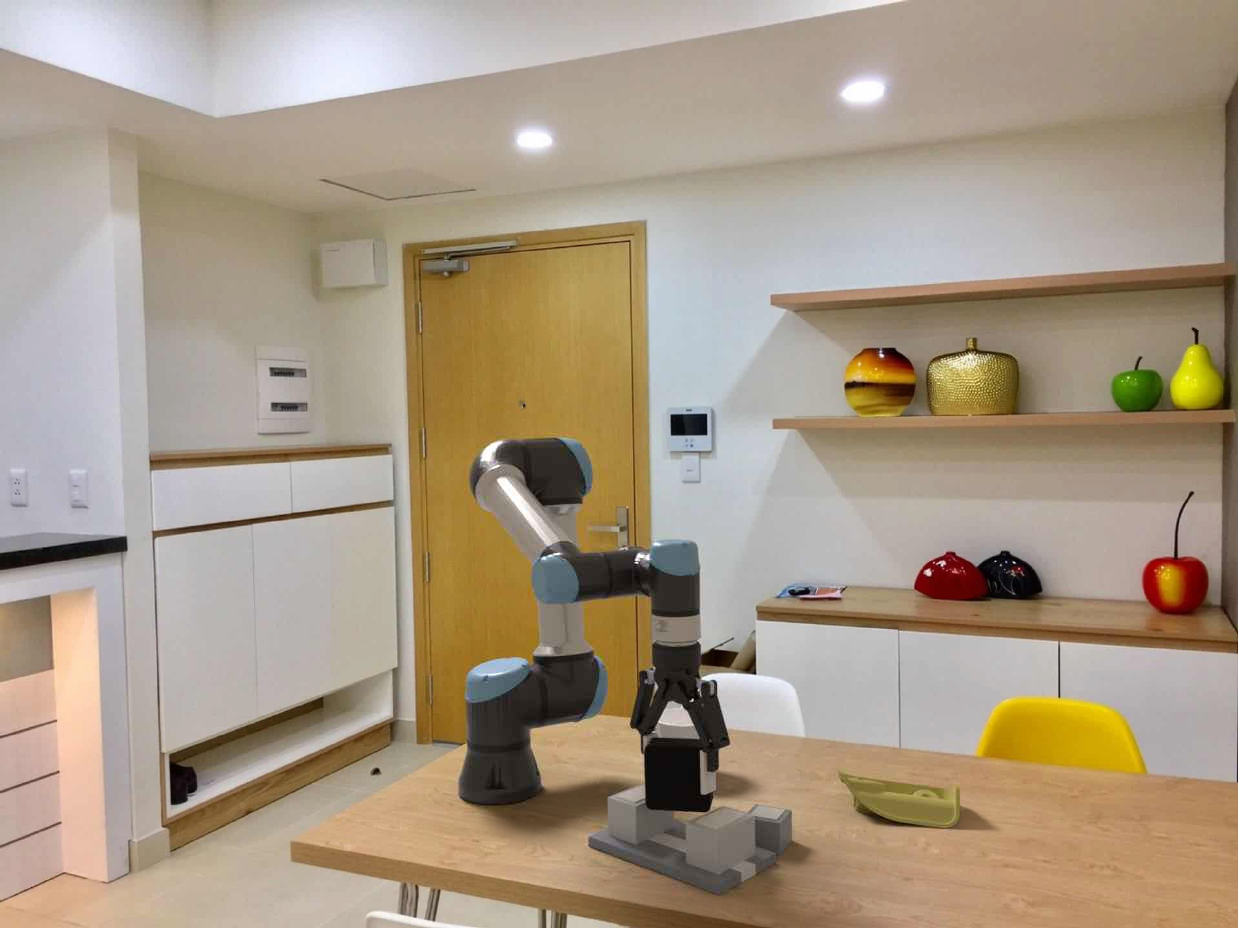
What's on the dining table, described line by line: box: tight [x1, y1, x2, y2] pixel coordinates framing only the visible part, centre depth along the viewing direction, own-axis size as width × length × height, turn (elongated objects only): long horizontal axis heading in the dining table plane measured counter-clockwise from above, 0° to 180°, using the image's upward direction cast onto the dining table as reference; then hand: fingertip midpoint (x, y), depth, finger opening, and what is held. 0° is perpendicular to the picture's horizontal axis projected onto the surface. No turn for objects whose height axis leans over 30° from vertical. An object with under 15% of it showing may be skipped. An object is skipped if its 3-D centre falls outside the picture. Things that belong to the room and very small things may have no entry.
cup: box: [654, 707, 711, 742], centre depth 192 cm, size 12×12×11 cm
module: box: [747, 803, 793, 856], centre depth 159 cm, size 6×6×5 cm
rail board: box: [587, 782, 777, 896], centre depth 156 cm, size 26×14×8 cm, turn 47°
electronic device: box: [643, 737, 714, 814], centre depth 155 cm, size 4×10×10 cm, turn 78°
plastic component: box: [837, 768, 961, 829], centre depth 171 cm, size 20×7×10 cm
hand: (679, 783), depth 155 cm, fingers open, 11 cm apart
